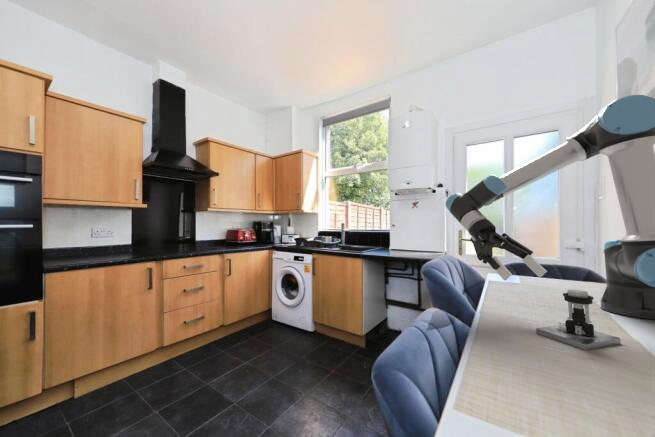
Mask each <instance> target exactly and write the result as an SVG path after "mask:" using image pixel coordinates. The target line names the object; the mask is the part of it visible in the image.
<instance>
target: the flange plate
mask: <svg viewBox="0 0 655 437" xmlns="http://www.w3.org/2000/svg"><path fill="white" fill-rule="evenodd" d="M558 326H561V327H566V325H563V324H555V325H549V326H543V327H536V328H535V330H536V334H539V335H541V336H543V337H547V338H550V339H552V340H556V341H559V342H560V343H564V344H567V345H570V346H573V347H575V348H578V349H581V350H584V351H589V350H595V349H600V348H602V347H603V348H604V347H608V346H615V345H620V344H621V343H622V341H621V337H619V336H613V335H611V334H607V333H604V332H600V331H596V330H594V336H593V337H588V336H585V335H580V334H576V333H572V332H568V331H566V329H565V328H561V327H558Z"/></svg>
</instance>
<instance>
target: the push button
mask: <svg viewBox="0 0 655 437" xmlns="http://www.w3.org/2000/svg"><path fill="white" fill-rule="evenodd" d="M566 291H567V292H564V293H562V297H563V298H564V299H563V300H564V301H566V302H567V305H568V307H567V308H568V316H567V319H566V320H565V323H564V322H563V323H562V322H560V321H559V322H558V321H557V324H558V325H562V324H563V325H566V327H561V326H558V327H561V328H565V329H566V331H568V332H572V333H576V334H580V335H585V336H588V337H593V336H594V331H595V325H594V324H593V323H592V321H591V320H590V306H589V305H593V300H594V296H592V295H589V294H588V292H587V291H585V290H578V289H567V290H566Z"/></svg>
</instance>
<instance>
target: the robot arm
mask: <svg viewBox="0 0 655 437" xmlns="http://www.w3.org/2000/svg"><path fill="white" fill-rule="evenodd" d="M654 145H655V98H654V97H653V96H649V95H645V94H631V95H629V94H628V95H626V96H621V97H620V98H617V99H615V100H613V101H611V102H610V103H609V104H607V105H605V106H604V107H603V108H602V109H601V110H600V111H599V112H598V114H597V115H596V116H595V117H593V118H592V119H591V120H590V121H589V122H588V123H587V124H586V125H585V126H584V127H583V128H581V129H580V130H579V131H577V132H576V133H574V134H573V135H571V136H569V137H566V138H565V140H564V143H562V144H560V145H558V146H556V147H555V148H552V149H550V150H549V151H547V152H545V153H543V154H541V155H539V156H537V157H535V158H534V159H532V160H529V161H527V162H526V163H524V164H522V165H520V166H519V167H517V168H514V169H513V170H510V171H509V172H507V173H505V174H503V175H501V176H497V175H495V174H493V173H492V174H489V175H488V176H487V177H485V178H483V179H482V180H481V181H479V182H478V183H477V184H476V185H475V186H473V187H471V188H470V189H469V190H468V191H467V192H465V193H463V194H462V193H459V192H455V193H454V194H451V195H450V196H448V198H447V199H446V201H445V207H446V209H447V210H448V211H449V213H450V215H452V217H454V218H455V219H456V220H457V221H458V222H459V223H460V225H462V227H463V228H464V230H465V231H467V232H468V233H469V235H470V236H471V237H470V238H469V240H470V242H471V243H472V244H473V248H474V250H475V254H476V257H477V260H479V261H482V263H483V264H489V266H490V267H491V268H492V269H493V270H494V271H495V272H496V273H497V274H498V275H499V276H500V277H501V279H502V280H503V281H507V280H508V279H509V278H510V277H511V276H512V275H513V273H511V271H510V270H509V269H508V268H507V266H505V265H504V264H503V262H502V261H501V260H500V259H499V258H498V257H497V256H493V254H494V253H493V248H497V249H500V250H504V251H507V252H509V253H511V254H513V255H515V256H516V257H518V258H520V259H522V260H521V261H522V262H523V263H524V264H525V265H526V266H527V267H528V268H529V269H530V270H531V271H532V272H533V273H534V274H535V275H536V276H537V277H538V278H542V277H543V276H544V275H545V274H546V273H547V272H548V270H547V269H545V268H544V267H543V266H542V265H541V264H540V263H539V262H538V261H537V260H536V259H535V258H534V257H533V256H532V254H534V251H533V250H532V249H530V248H528V247H526V246H525V245H523V244H521V243H520V242H518V241H517V240H516V239H514V238H512V237H511V236H509V235H508V234H507V233H504V232H503V233H502V234H499V233H498V232H496V231H497V230H496V227H497V226H496V225H494V224H493V223H492V221H490V220H489V219H488V218H487V216H485V215H484V214H483V213H482V212H481V211H480V209H482V208H483V207H487V206H489V205H492V204H493V203H495V202H496V201H498V200H500V199H502V198H504V197H506V196H508V195H510V194H513V193H515V192H516V191H519V190H521V189H522V188H524V187H526V186H528V185H530V184H533V183H535V182H536V181H539V180H541V179H544V178H545V177H547V176H549V175H551V174H553V173H555V172H557V171H559V170H561V169H563V168H565V167H567V166H569V165H572V164H574V163H575V162H584V161H586V160H588V159H590V158H592V157H595V156H598V155H600V154H601V155H603V156H606V157H607V158H608V163H609V167H610V170H611V176H612V179H613V183H614V187H615V192H616V194H617V199H618V204H619V207H620V211H621V216H622V220H623V225H624V228H625V233H626V234H625V235H624V236H623V237H622V238H621V239H613V240H608V241H606V242H605V243H604V246H603V247H604V249H603V254H604V265H605V266H604V267H605V276H606V279H605V280H606V287H605V289H604V291H603V294H602V297H601V299H600V302H599V303H600V308H601V309H602V310H604V311H606V312H609V313H614V314H617V315H621V316H627V317H632V318H639V319H647V320H655V150H654V149H655V148H654Z"/></svg>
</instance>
